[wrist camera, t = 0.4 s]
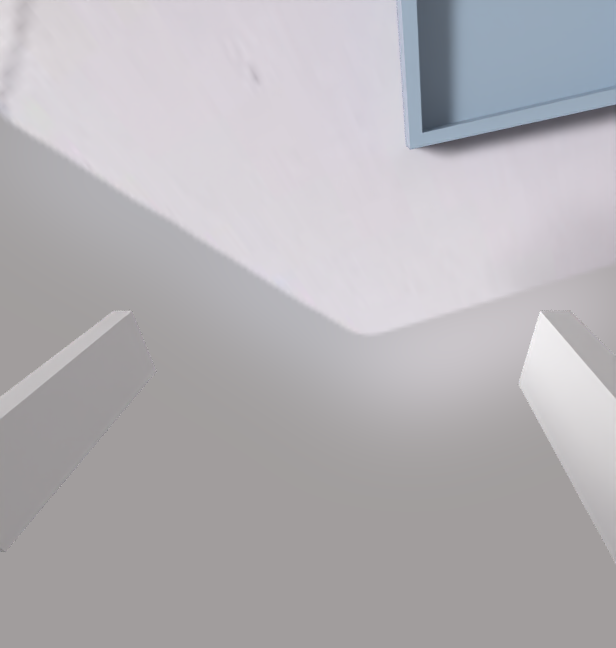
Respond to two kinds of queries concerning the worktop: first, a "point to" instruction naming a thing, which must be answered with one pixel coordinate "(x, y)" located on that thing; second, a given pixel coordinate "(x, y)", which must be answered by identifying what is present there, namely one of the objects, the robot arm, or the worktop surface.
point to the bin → (502, 63)
